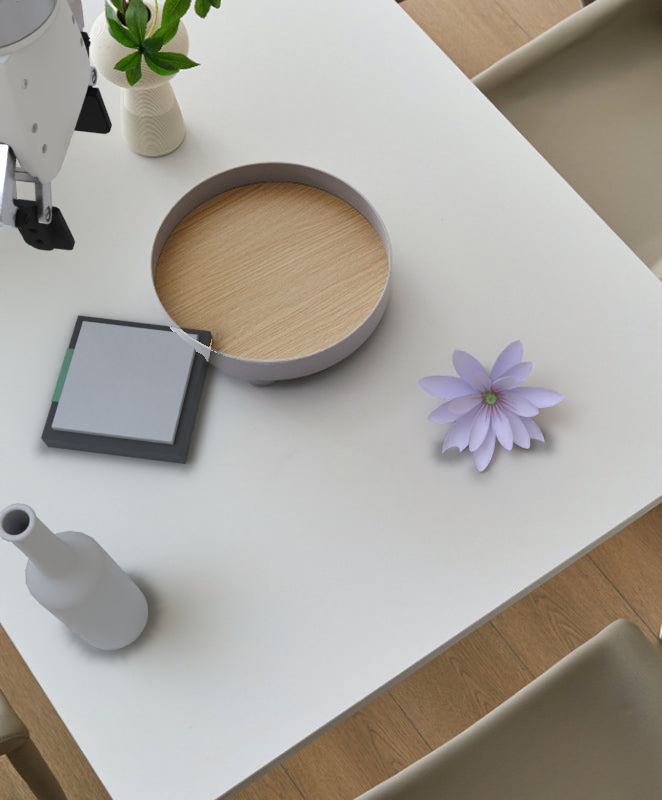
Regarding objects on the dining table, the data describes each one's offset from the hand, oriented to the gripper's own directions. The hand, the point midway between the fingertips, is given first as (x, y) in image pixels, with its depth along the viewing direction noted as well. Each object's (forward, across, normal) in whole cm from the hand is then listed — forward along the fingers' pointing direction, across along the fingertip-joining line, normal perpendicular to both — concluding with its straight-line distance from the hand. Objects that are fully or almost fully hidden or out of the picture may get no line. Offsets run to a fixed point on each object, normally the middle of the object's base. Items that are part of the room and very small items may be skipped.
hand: (71, 184), depth 69 cm
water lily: (+38, -3, +31) cm, 50 cm away
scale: (+38, -2, -5) cm, 39 cm away
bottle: (+38, +21, -1) cm, 44 cm away
